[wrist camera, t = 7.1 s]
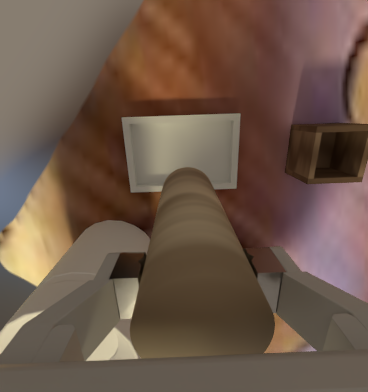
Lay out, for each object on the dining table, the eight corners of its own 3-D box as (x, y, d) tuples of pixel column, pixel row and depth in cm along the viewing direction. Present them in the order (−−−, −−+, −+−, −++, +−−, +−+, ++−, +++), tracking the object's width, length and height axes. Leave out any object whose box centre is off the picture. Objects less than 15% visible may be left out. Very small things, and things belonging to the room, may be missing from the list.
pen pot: (330, 170, 38) (361, 182, 31) (285, 172, 38) (307, 184, 31) (339, 122, 35) (376, 124, 29) (291, 124, 35) (317, 126, 28)
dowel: (211, 213, 18) (266, 377, 7) (164, 215, 18) (138, 382, 7) (212, 166, 17) (283, 271, 5) (160, 168, 16) (120, 278, 5)
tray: (233, 185, 38) (236, 188, 37) (133, 188, 38) (130, 192, 36) (237, 113, 34) (240, 113, 32) (124, 117, 34) (121, 117, 32)
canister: (148, 292, 47) (128, 410, 28) (73, 280, 45) (-3, 396, 26) (163, 228, 41) (149, 322, 22) (78, 212, 40) (-13, 297, 21)
